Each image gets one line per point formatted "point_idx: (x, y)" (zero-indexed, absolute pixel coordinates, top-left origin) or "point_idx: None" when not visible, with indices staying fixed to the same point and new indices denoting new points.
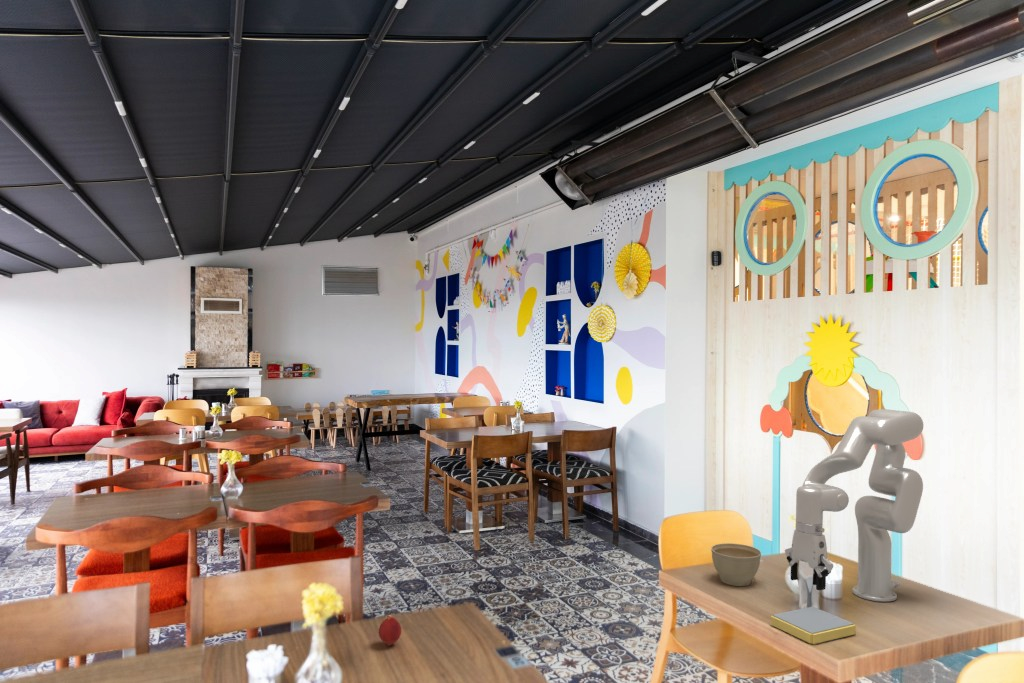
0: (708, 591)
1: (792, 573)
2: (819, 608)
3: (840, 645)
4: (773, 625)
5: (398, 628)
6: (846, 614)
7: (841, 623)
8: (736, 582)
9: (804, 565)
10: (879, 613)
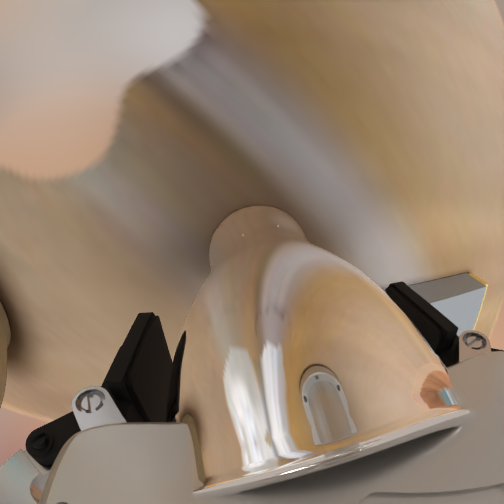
0: (60, 415)
1: (165, 405)
2: (301, 229)
3: None
4: None
5: None
6: (371, 140)
7: (468, 321)
8: (6, 344)
9: None
10: (394, 20)
